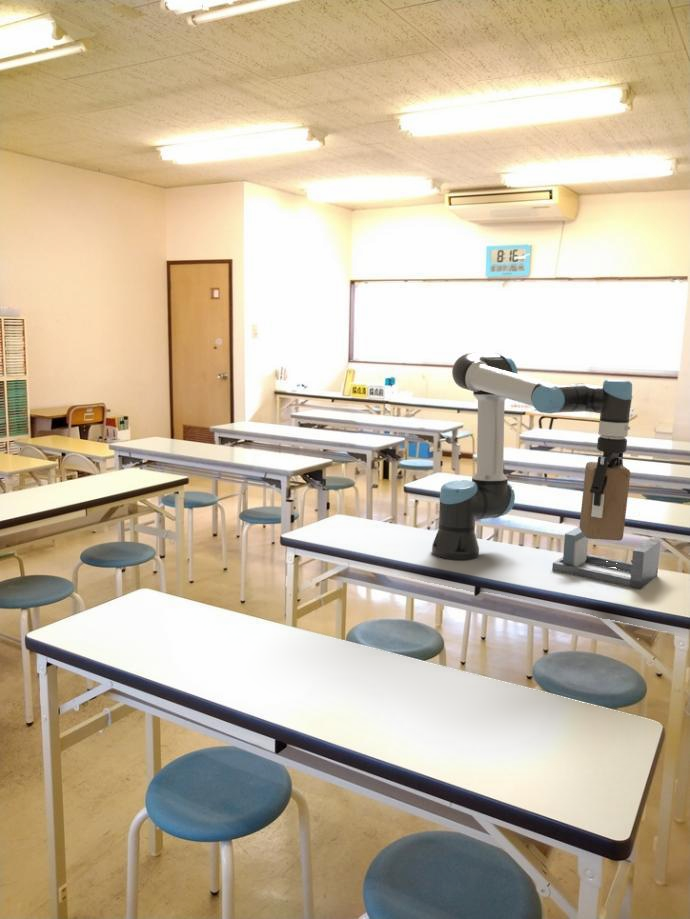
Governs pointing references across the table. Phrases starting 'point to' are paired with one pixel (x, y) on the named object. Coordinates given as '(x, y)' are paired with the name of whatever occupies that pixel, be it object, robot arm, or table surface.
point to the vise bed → (620, 567)
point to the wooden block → (605, 504)
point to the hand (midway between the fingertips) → (605, 512)
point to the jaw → (575, 547)
